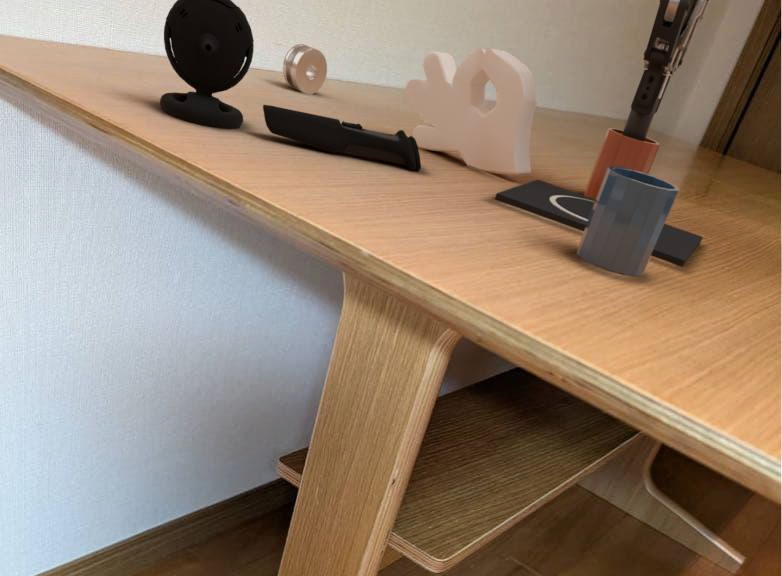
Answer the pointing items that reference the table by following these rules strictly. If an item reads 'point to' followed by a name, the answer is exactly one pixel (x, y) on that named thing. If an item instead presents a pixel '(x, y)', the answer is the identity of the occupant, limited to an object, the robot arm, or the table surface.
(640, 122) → the rod
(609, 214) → the pen cup
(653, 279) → the table surface
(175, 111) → the webcam
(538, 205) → the drawing pad
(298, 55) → the metal grooved wheel
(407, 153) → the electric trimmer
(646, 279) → the table surface
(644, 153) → the pen pot
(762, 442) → the table surface
